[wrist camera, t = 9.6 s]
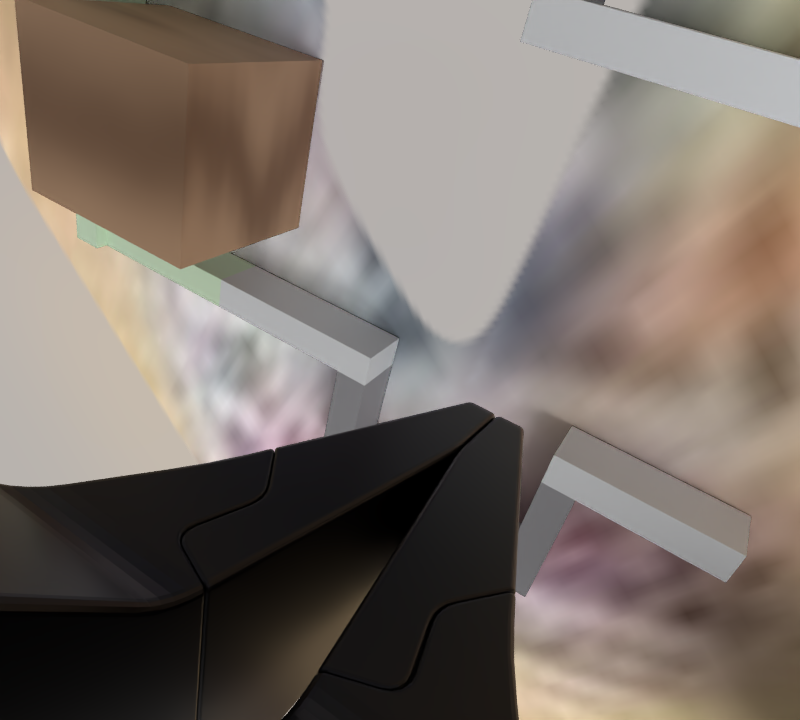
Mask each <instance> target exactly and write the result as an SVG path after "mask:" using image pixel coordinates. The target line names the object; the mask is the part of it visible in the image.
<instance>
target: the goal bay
mask: <svg viewBox="0 0 800 720" xmlns="http://www.w3.org/2000/svg"><path fill="white" fill-rule="evenodd" d="M93 1H108V2H123V3H139V4H146V0H93ZM76 219H77V237H78V238H79V239H81V240H83V241H85V242H87V243H88V244H90V245H92V246H94V247H96V248H99V247H103V246H106V245H107V246H109V247H111V248H113V249H115V250H116V251H118V252H120V253H122V254H124V255H126V256H127V257H129V258H131V259H133V260H135V261H137V262H138V263H140V264H142V265H144V266H146V267H148V268H149V269H151V270H153V271H155V272H157V273H159V274H160V275H162V276H164V277H166V278H168V279H170V280H171V281H173V282H175V283H177V284H179V285H181V286H182V287H184V288H186V289H188V290H190V291H192V292H193V293H195V294H197V295H199V296H201V297H203V298H204V299H206V300H208V301H210V302H212V303H214V304H215V305H217V306H219V301H220V288H221V280H222V279H224V278H227V277H229V276H232V275H234V274H237V273H239V272H242V271H244V270H247V269H249V268H252V267H254V266H255V265H253V264H251V263H249V262H247V261H245V260H243V259H241V258H239V257H237V256H235V255H233V254H231V253H229V252H228V253H225V254H222V255H219V256H217V257H214V258H211V259H208V260H205V261H202V262H200V263H197V264H194V265H191V266H188V267H185V268H183V269H179V268H177V267H175V266H173V265H171V264H169V263H168V262H166V261H164V260H162V259H160V258H158V257H156V256H155V255H153V254H151V253H149V252H147V251H145V250H143V249H141V248H140V247H138V246H136V245H134V244H132V243H130V242H128V241H127V240H125V239H123V238H121V237H119V236H117V235H115V234H114V233H112V232H110V231H108V230H106V229H104V228H102V227H100V226H99V225H97V224H95V223H93V222H91V221H89V220H87V219H86V218H84V217H82V216H80V215H78V214H76Z"/></svg>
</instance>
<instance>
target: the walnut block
mask: <svg viewBox="0 0 800 720" xmlns="http://www.w3.org/2000/svg"><path fill="white" fill-rule="evenodd" d="M15 8H16V19H17V30H18V40H19V51H20V62H21V73H22V84H23V95H24V106H25V116H26V127H27V138H28V149H29V160H30V171H31V182H32V190H33V191H35V192H37V193H39V194H41V195H43V196H45V197H46V198H48V199H50V200H52V201H54V202H56V203H58V204H59V205H61V206H63V207H65V208H67V209H69V210H71V211H73V212H74V213H76V214H78V215H80V216H82V217H84V218H86V219H87V220H89V221H91V222H93V223H95V224H97V225H99V226H100V227H102V228H104V229H106V230H108V231H110V232H112V233H114V234H115V235H117V236H119V237H121V238H123V239H125V240H127V241H128V242H130V243H132V244H134V245H136V246H138V247H140V248H141V249H143V250H145V251H147V252H149V253H151V254H153V255H155V256H156V257H158V258H160V259H162V260H164V261H166V262H168V263H169V264H171V265H173V266H175V267H177V268H179V269H183V268H185V267H188V266H191V265H194V264H197V263H200V262H202V261H205V260H208V259H211V258H214V257H217V256H219V255H222V254H225V253H228V252H231V251H234V250H236V249H239V248H242V247H245V246H248V245H251V244H253V243H256V242H259V241H262V240H265V239H267V238H270V237H273V236H276V235H279V234H282V233H284V232H287V231H290V230H293V229H296V228H298V226H299V219H300V212H301V205H302V198H303V192H304V185H305V178H306V171H307V164H308V157H309V150H310V143H311V136H312V129H313V122H314V115H315V108H316V102H317V95H318V88H319V81H320V85H321V79H322V72H323V65H324V60H320V59H317V58H315V57H312V56H309V55H306V54H303V53H301V52H298V51H295V50H292V49H289V48H287V47H284V46H281V45H278V44H275V43H273V42H270V41H267V40H264V39H262V38H259V37H256V36H253V35H250V34H248V33H245V32H242V31H239V30H236V29H234V28H231V27H228V26H225V25H222V24H220V23H217V22H214V21H211V20H208V19H206V18H203V17H200V16H197V15H195V14H192V13H189V12H186V11H183V10H181V9H178V8H175V7H172V6H169V5H154V4H139V3H123V2H108V1H93V0H15ZM320 74H321V78H320Z"/></svg>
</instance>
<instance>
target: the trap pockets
mask: <svg viewBox="0 0 800 720" xmlns="http://www.w3.org/2000/svg"><path fill="white" fill-rule="evenodd" d="M582 1H587V2H592V3H597V4H602V5H604V2H605V0H582ZM391 368H392V365H391V366H390V367H388V368H387V369H386V370H384V371H383V372H382V373H381V374H379V375H378V376H377V377H375V378H374V379H373V380H371V381H370V382H369V383H367V384H366V385H365V386H364V385H362V384H360V383H359V382H357V381H355V380H353V379H351V378H349V377H348V376H346V375H344V374H342V373H340V372H337V377H336V381H335V386H334V391H333V396H332V401H331V406H330V411H329V415H328V420H327V425H326V430H325V435H324V436H329V435H333V434H337V433H341V432H345V431H350V430H354V429H358V428H362V427H367V426H371V425H375V424H377V422H378V418H379V414H380V410H381V406H382V403H383V399H384V395H385V391H386V387H387V383H388V380H389V376H390V372H391ZM574 502H575V500H573V499H571V498H569V497H568V496H566V495H564V494H562V493H560V492H558V491H557V490H555V489H553V488H551V487H549V486H547V485H546V484H544V483H542V482H541V484H540V486H539V488H538V490H537V492H536V494H535V496H534V498H533V501H532V503H531V505H530V507H529V509H528V511H527V513H526V515H525V518H524V520H523V522H522V523H520V522H519V533H518V552H517V571H516V592H518V593H519V594H521V595H522V596H524V597H525V596H526V594H527V592H528V590H529V589H530V587H531V585H532V583H533V581H534V579H535V577H536V575H537V573H538V571H539V569H540V567H541V566H542V564H543V562H544V560H545V558H546V556H547V554H548V552H549V550H550V548H551V546H552V545H553V543H554V541H555V539H556V537H557V535H558V533H559V531H560V529H561V527H562V525H563V523H564V522H565V520H566V518H567V516H568V514H569V512H570V510H571V508H572V506H573V504H574Z"/></svg>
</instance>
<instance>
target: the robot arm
mask: <svg viewBox="0 0 800 720" xmlns="http://www.w3.org/2000/svg"><path fill="white" fill-rule="evenodd" d="M523 436H524V432H523V429H522V428H521V427H520V426H518V425H516V424H514V423H512V422H510V421H508V420H506V419H504V418H502V417H496V418H495V416H494V414H493V413H492V412H490V411H488V410H486V409H484V408H482V407H480V406H478V405H476V404H474V403H464V404H459V405H455V406H451V407H447V408H442V409H438V410H434V411H430V412H426V413H421V414H417V415H413V416H409V417H404V418H400V419H396V420H392V421H388V422H383V423H379V424H375V425H371V426H367V427H362V428H358V429H354V430H350V431H345V432H341V433H337V434H333V435H329V436H324V437H320V438H316V439H312V440H307V441H303V442H299V443H295V444H291V445H286V446H282V447H278V448H276V449H275V452H274V451H273V450H272V449H269V450H264V451H260V452H256V453H252V454H248V455H243V456H238V457H233V458H229V459H224V460H219V461H215V462H210V463H204V464H198V465H192V466H186V467H180V468H174V469H168V470H161V471H154V472H148V473H141V474H134V475H127V476H120V477H113V478H106V479H99V480H93V481H86V482H79V483H72V484H65V485H55V486H47V487H22V486H9V485H3V484H0V720H519V717H518V707H517V695H516V680H515V666H514V618H515V596H514V595H515V591H516V571H517V552H518V533H519V513H520V494H521V474H522V455H523ZM300 696H301V697H300ZM297 700H298V701H297ZM296 701H297V702H296ZM295 702H296V703H295ZM294 703H295V705H294ZM293 705H294V706H293ZM292 706H293V707H292ZM291 707H292V708H291ZM290 708H291V710H290V711H289V712H288V710H289V709H290ZM287 712H288V714H286V713H287ZM285 714H286V715H285ZM284 715H285V716H284ZM283 716H284V717H283Z"/></svg>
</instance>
